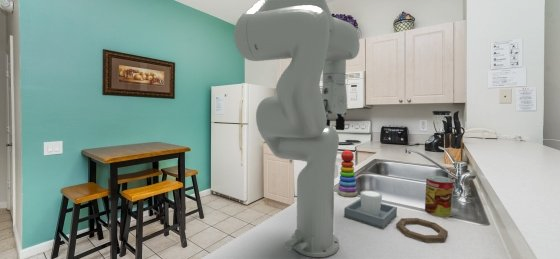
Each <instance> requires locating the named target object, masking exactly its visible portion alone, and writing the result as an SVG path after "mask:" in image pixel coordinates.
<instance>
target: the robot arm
mask: <svg viewBox="0 0 560 259" xmlns="http://www.w3.org/2000/svg"><path fill="white" fill-rule="evenodd" d="M233 35H234V36H233V39H234V44H235V47H236V49H237V52H238V53H239V54H240V56H241V57H243V58H244V59H245V60H248V61H252V62H262V61H263V62H264V61H273V60H275V61H276V60H287V59H291V61H290V63H289V64H288V66H287V67H286V68H284V69H285V70H283V72H282V73H281V75H280V77H278V78H279V79H278V81H277V83H276V86H275V94H276V96H269V97H266V98H265V97H264V99H262V100H261V101H260V102H259V103H258V105H257V108H256V112H255V120H256V121H255V122H256V126H257V129H258V131H259V134H260V136H261V137H262V139H263V141H264V142H265V143H266V145H267V146H268V148H269V149H270V151H271V153H272V154H273V156H275V157H277V158H278V159H282V160H291V161H293V160H294V161H302V162H306V165H305V166H304V167H303V168H302V169H301V170H300V172H299V174H298V175H297V180H296V229H295V230H294V232H293V234H292V235H291V236H290V239H289V240H287V241H286V242H285V248H286V249H287V250H288V251H291V250H292V249H293V250H295V251H296V252H297V253H298V254H301V255H303V256H307V257H312V258H325V257H329V256H332V255H334V254H335V253H336V252H338V250H339V248H340V241H339V239H338V237H337V236H336V235H335V234H334V209H335V208H334V207H335V204H334V203H335V172H336V170H335V169H336V164H337V162H336V161H337V156H338V150H339V141H340V137H339V133H338V131H344V130H345V126H346V125H345V123H346V121H345V120H346V115H347V111H348V99H347V98H348V96H347V94H348V93H347V87H346V86H347V85H346V72H347V70H346V69H347V68H346V67H347V61H349V60H353V59H355V58H356V57H357V56H358V55H359V52H360V38H359V34H358V31H357V28H356V27H355V26H354V25H353V24H352V23H350V22H348V21H346V20H344V19H340V18H337V17H334V16H332V13H331V11H330V8H329V5H328V4H327V1H326V0H257V2H255V3H254V4H253V5H252V6H251V7H250V8H248V9H247V10H246V11H245V12H244V13H242V14H241V16H240V17H239V18H238V19H237V21H236V24H235V26H234V32H233ZM321 77H322V78H321ZM321 79H322V88H321V86H320V83H321ZM334 114H335V116H336V118H335V128H333V127H332V126H331V120H330V116H331V115H334Z"/></svg>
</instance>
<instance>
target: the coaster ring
mask: <svg viewBox="0 0 560 259" xmlns="http://www.w3.org/2000/svg"><path fill="white" fill-rule="evenodd" d="M406 225H420V226H424V227H427V228H431V229H432V230H434V231H435V232H437V233H438V234H423V233H422V234H421V233H419V232H415V231H412V230H410V229H408V228H407V226H406ZM395 228H396V229H397V230H398V231H399V232H400V233H401V234H403V235H404V236H405V237H408V238H411V239H413V240H416V241H420V242H424V243H426V244H428V243H430V244H431V243H445V241H446V239H447V237H448V234H449V233H448V232H449V231H448V230H447V229H445V228H444V227H442V226H441V225H439V224H438V223H436V222H432V221H429V220H426V219H421V218H418V217H410V218H409V217H406V218H404V217H401V218H400V219H399V220H398V222H396V224H395Z"/></svg>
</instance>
